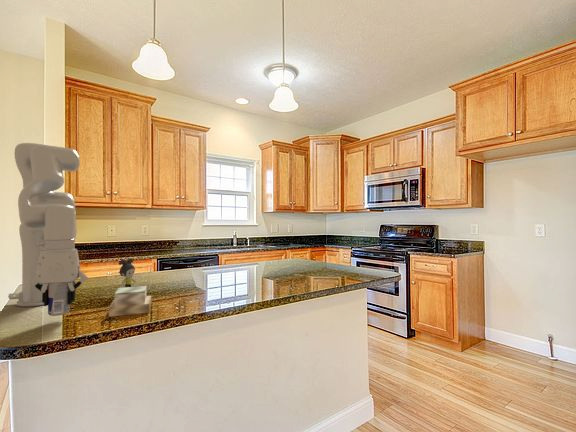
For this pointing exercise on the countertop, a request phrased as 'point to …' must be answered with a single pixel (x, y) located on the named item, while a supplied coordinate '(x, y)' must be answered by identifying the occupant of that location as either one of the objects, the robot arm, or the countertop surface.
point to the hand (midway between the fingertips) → (59, 303)
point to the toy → (127, 272)
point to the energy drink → (58, 299)
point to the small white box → (130, 301)
